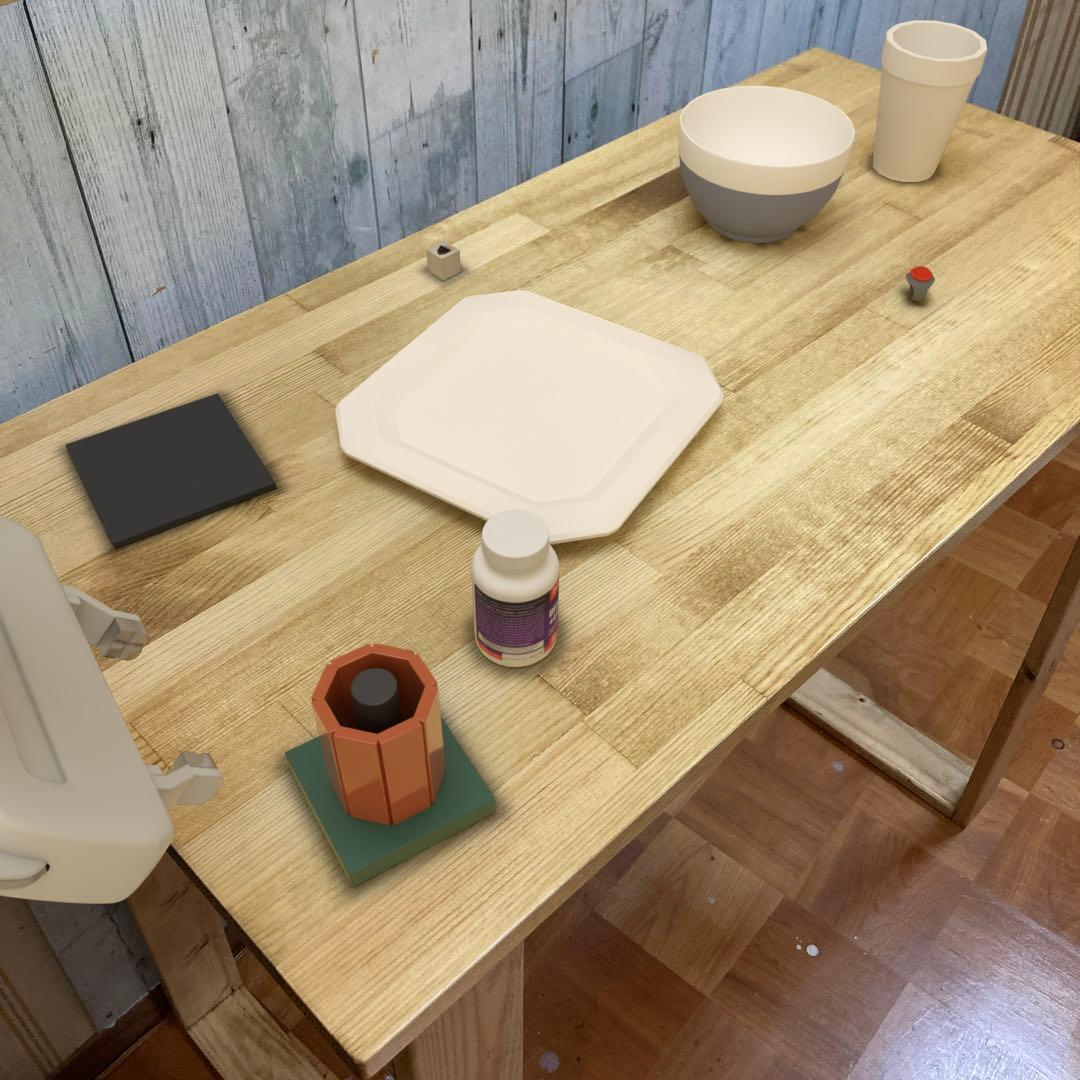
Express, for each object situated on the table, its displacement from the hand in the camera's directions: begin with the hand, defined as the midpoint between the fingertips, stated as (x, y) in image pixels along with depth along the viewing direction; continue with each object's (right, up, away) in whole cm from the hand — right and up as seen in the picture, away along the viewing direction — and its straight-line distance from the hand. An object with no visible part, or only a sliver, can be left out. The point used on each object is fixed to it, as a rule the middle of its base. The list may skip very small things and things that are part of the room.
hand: (173, 705), depth 53 cm
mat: (-11, +13, +32) cm, 36 cm away
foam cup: (+55, +46, +64) cm, 96 cm away
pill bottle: (+15, +1, +21) cm, 26 cm away
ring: (+50, +29, +48) cm, 76 cm away
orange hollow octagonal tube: (+8, -6, +12) cm, 16 cm away
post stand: (+8, -7, +13) cm, 17 cm away
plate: (+16, +17, +36) cm, 43 cm away
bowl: (+38, +39, +57) cm, 79 cm away
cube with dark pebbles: (+8, +32, +50) cm, 60 cm away
